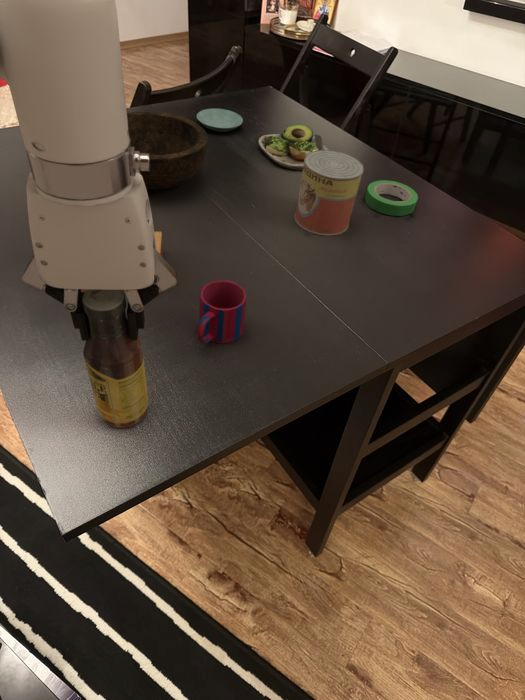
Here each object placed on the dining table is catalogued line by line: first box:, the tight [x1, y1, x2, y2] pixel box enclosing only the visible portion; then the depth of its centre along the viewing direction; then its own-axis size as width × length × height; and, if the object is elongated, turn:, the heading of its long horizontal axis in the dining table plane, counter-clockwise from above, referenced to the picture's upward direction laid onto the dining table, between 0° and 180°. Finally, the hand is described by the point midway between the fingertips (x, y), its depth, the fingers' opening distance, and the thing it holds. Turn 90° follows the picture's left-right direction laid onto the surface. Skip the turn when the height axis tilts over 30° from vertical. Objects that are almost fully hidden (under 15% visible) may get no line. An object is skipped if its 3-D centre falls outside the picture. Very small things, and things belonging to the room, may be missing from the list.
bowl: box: [127, 110, 209, 190], centre depth 98 cm, size 22×22×10 cm
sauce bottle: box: [82, 289, 149, 429], centre depth 54 cm, size 6×6×20 cm
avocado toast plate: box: [257, 123, 329, 171], centre depth 115 cm, size 19×18×5 cm
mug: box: [196, 279, 248, 344], centre depth 70 cm, size 7×10×7 cm
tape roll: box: [364, 179, 419, 217], centre depth 105 cm, size 11×11×3 cm
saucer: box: [196, 108, 244, 133], centre depth 123 cm, size 12×12×2 cm
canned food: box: [294, 149, 365, 237], centre depth 94 cm, size 11×11×12 cm
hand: (111, 329), depth 50 cm, fingers closed on sauce bottle, 4 cm apart
